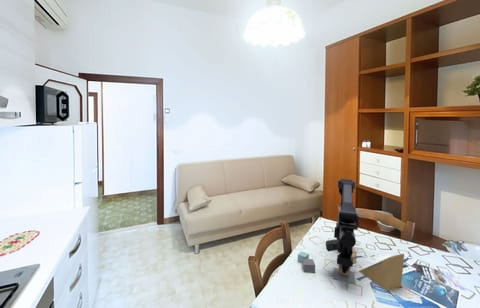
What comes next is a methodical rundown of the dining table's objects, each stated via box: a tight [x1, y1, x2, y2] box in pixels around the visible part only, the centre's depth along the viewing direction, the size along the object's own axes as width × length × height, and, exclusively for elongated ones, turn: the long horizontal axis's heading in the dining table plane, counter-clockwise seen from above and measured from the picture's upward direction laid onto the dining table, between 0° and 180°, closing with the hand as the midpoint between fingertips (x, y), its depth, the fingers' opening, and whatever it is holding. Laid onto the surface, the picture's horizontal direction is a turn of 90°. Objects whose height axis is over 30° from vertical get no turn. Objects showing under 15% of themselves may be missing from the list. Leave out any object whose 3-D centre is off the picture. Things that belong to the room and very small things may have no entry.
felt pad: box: [332, 267, 356, 285], centre depth 113 cm, size 9×9×1 cm
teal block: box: [297, 250, 310, 264], centre depth 125 cm, size 4×4×4 cm
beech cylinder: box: [351, 249, 357, 264], centre depth 126 cm, size 4×4×5 cm
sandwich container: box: [358, 253, 405, 292], centre depth 111 cm, size 9×15×15 cm, turn 21°
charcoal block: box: [301, 258, 316, 274], centre depth 118 cm, size 5×5×4 cm
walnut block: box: [338, 264, 351, 276], centre depth 113 cm, size 4×4×5 cm
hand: (344, 270), depth 113 cm, fingers closed on walnut block, 4 cm apart
